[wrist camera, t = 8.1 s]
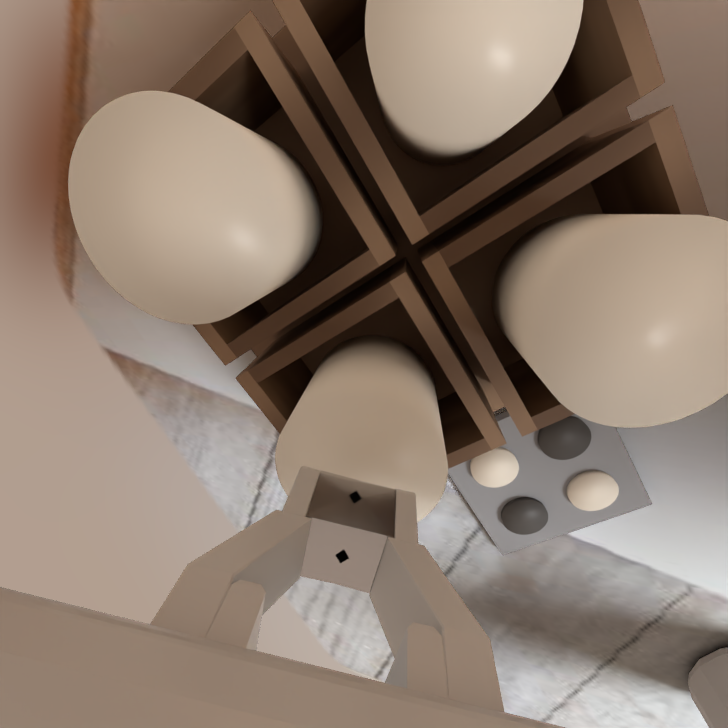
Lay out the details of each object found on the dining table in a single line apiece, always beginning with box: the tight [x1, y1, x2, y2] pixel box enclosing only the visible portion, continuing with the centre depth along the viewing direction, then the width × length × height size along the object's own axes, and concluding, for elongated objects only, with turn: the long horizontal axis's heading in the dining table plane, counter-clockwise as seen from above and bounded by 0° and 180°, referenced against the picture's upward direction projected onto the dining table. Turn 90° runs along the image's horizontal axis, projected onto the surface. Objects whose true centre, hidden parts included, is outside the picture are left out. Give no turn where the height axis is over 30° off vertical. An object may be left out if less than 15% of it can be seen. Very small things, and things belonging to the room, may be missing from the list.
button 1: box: [365, 0, 583, 165], centre depth 11 cm, size 5×5×5 cm
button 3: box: [492, 214, 728, 428], centre depth 11 cm, size 5×5×5 cm
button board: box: [169, 0, 709, 469], centre depth 15 cm, size 18×18×6 cm
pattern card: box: [448, 411, 652, 555], centre depth 21 cm, size 9×9×1 cm
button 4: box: [275, 335, 448, 522], centre depth 13 cm, size 5×5×5 cm
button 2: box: [68, 91, 323, 325], centre depth 11 cm, size 5×5×5 cm
